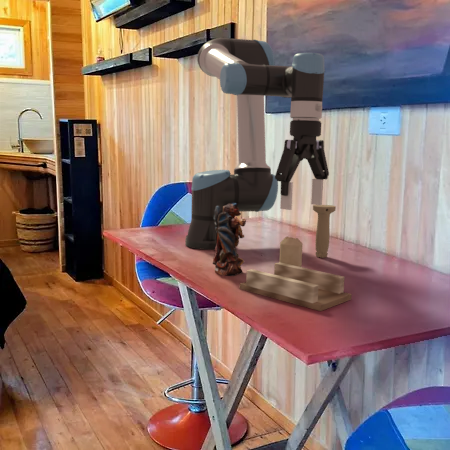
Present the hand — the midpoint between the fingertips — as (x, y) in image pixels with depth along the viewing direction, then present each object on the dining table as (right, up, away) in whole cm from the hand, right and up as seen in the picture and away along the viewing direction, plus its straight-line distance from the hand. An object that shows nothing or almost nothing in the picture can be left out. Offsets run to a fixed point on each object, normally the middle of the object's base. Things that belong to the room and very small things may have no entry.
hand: (301, 207), depth 140 cm
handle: (+9, -14, +25) cm, 30 cm away
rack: (-4, -20, -14) cm, 24 cm away
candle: (-3, -18, +2) cm, 18 cm away
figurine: (-18, -17, +5) cm, 25 cm away
